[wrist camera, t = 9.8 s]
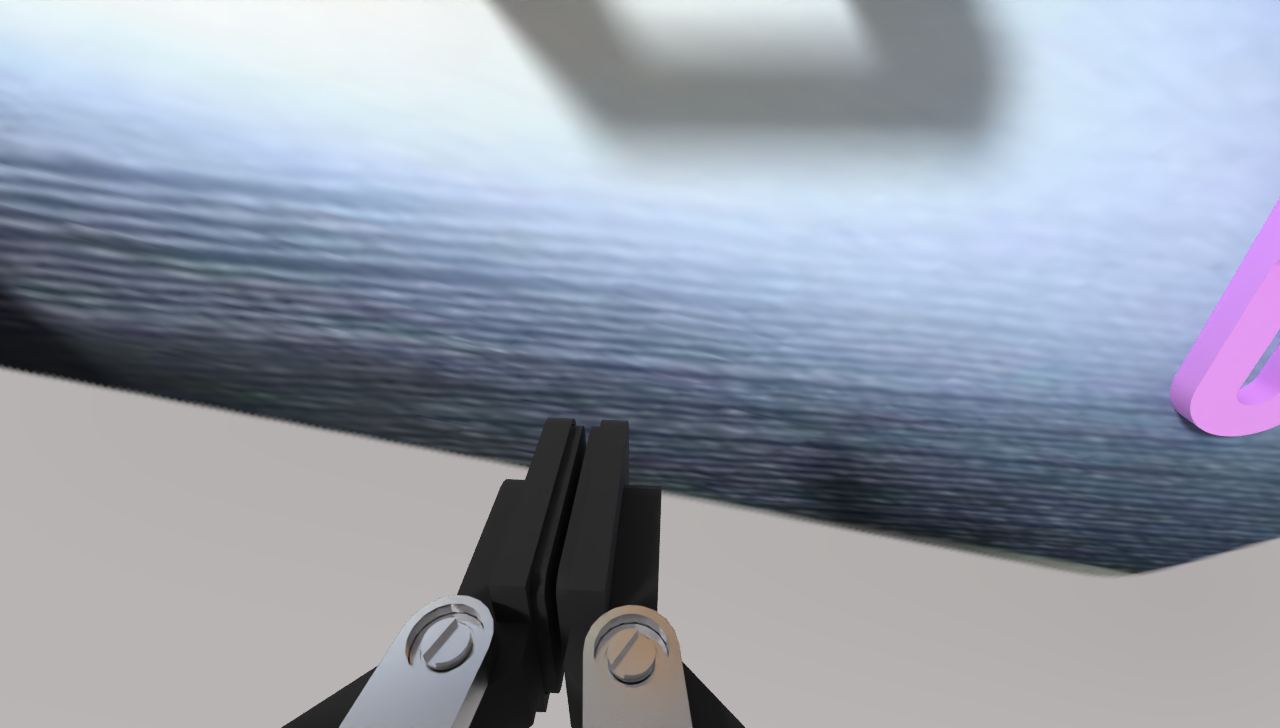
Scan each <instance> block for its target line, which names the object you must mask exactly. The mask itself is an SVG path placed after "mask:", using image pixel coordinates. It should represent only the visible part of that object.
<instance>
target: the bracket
mask: <svg viewBox="0 0 1280 728" xmlns="http://www.w3.org/2000/svg"><path fill="white" fill-rule="evenodd" d="M1279 329H1280V198H1279V200H1278V201H1277V203H1276V205H1275V207H1274V208H1273V210H1272V212H1271V213H1270V215H1269V217H1268V219H1267V220H1266V222H1265V224H1264V225H1263V227H1262V229H1261V230H1260V232H1259V234H1258V236H1257V237H1256V239H1255V241H1254V242H1253V244H1252V246H1251V248H1250V249H1249V251H1248V253H1247V254H1246V256H1245V258H1244V260H1243V261H1242V263H1241V265H1240V266H1239V268H1238V270H1237V271H1236V273H1235V275H1234V277H1233V278H1232V280H1231V282H1230V283H1229V285H1228V287H1227V289H1226V290H1225V292H1224V294H1223V295H1222V297H1221V299H1220V300H1219V302H1218V304H1217V306H1216V307H1215V309H1214V311H1213V312H1212V314H1211V316H1210V318H1209V319H1208V321H1207V323H1206V324H1205V326H1204V328H1203V329H1202V331H1201V333H1200V335H1199V336H1198V338H1197V340H1196V341H1195V343H1194V345H1193V347H1192V348H1191V350H1190V352H1189V353H1188V355H1187V357H1186V358H1185V360H1184V362H1183V364H1182V365H1181V367H1180V369H1179V370H1178V372H1177V374H1176V376H1175V378H1174V380H1173V382H1172V385H1171V389H1170V399H1171V403H1172V405H1173V407H1174V408H1175V410H1176V411H1177V412H1178V413H1180V414H1181V415H1182V416H1184V417H1185V418H1186V419H1188V420H1189V421H1191V422H1192V423H1193V424H1195V425H1196V426H1197V427H1199V428H1200V429H1202V430H1203V431H1205V432H1208V433H1211V434H1214V435H1219V436H1242V435H1248V434H1253V433H1257V432H1261V431H1264V430H1267V429H1270V428H1272V427H1275V426H1277V425H1280V344H1279V345H1278V347H1277V348H1276V350H1275V351H1274V353H1273V354H1272V356H1271V357H1270V358H1269V360H1268V361H1267V363H1266V364H1265V366H1264V367H1263V369H1262V370H1261V372H1260V373H1259V375H1258V376H1257V377H1256V379H1255V380H1254V381H1252V382H1251V383H1250V384H1248V385H1247V386H1245V387H1243V388H1240V387H1241V386H1242V384H1243V383H1244V381H1245V380H1246V378H1247V377H1248V375H1249V374H1250V372H1251V371H1252V369H1253V368H1254V366H1255V365H1256V363H1257V362H1258V360H1259V359H1260V357H1261V356H1262V354H1263V353H1264V351H1265V350H1266V348H1267V347H1268V345H1269V344H1270V342H1271V341H1272V339H1273V338H1274V336H1275V335H1276V333H1277V332H1278V330H1279Z"/></svg>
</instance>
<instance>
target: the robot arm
mask: <svg viewBox="0 0 1280 728" xmlns="http://www.w3.org/2000/svg"><path fill="white" fill-rule="evenodd" d="M661 487H662V486H642V485H629V424H628V421H619V420H602V421H601V425H600V427H595V426H592V427H591V429H590V434H589V438H588V443H587V447H586V439H585V428H584V426H576V422H575V419H569V418H547V420H546V422H545V425H544V428H543V431H542V434H541V436H540V439H539V442H538V445H537V448H536V451H535V453H534V456H533V459H532V462H531V465H530V467H529V470H528V473H527V476H526V479H525V480H511V479H506V480H505V481H504V482H503V484H502V486H501V487H500V490H499V492H498V495H497V497H496V500H495V502H494V505H493V507H492V510H491V512H490V515H489V517H488V520H487V522H486V525H485V527H484V529H483V532H482V534H481V537H480V540H479V542H478V544H477V547H476V549H475V552H474V554H473V557H472V559H471V562H470V564H469V567H468V569H467V572H466V574H465V576H464V579H463V582H462V584H461V586H460V589H459V591H458V594H457V595H453V596H448V597H444V598H440V599H437V600H435V601H433V602H431V603H429V604H427V605H425V606H424V607H423V608H421V609H420V610H419V611H417V612H416V613H415V614H414V615H412V617H411V618H410V619H409V620H408V622H407V623H406V624H405V625H404V626H403V628H402V629H401V631H400V632H399V634H398V635H397V637H396V639H395V640H394V642H393V643H392V645H391V646H390V648H389V650H388V651H387V653H386V654H385V656H384V657H383V659H382V661H381V662H380V664H379V665H378V666H377V667H375V668H374V669H372V670H371V671H369V672H367V673H366V674H364V675H363V676H361V677H359V678H358V679H356V680H355V681H353V682H352V683H350V684H349V685H347V686H345V687H344V688H342V689H341V690H339V691H338V692H336V693H335V694H333V695H332V696H330V697H328V698H327V699H325V700H324V701H322V702H321V703H319V704H318V705H316V706H314V707H313V708H311V709H310V710H308V711H307V712H305V713H303V714H302V715H300V716H299V717H297V718H296V719H294V720H293V721H291V722H290V723H288V724H286V725H285V726H283V727H282V728H529V727H530V726H532V725H533V723H534V718H535V714H536V712H546V709H547V704H548V699H549V694H550V693H559V692H560V690H561V686H562V681H563V676H564V672H565V680H566V688H567V696H568V704H569V713H570V721H571V727H572V728H745V727H744V726H743V725H742V724H741V723H740V722H739V720H738V719H736V717H735V716H734V715H733V714H732V713H731V712H730V711H729V710H728V709H727V708H726V707H725V706H724V705H723V704H722V703H721V702H720V701H719V700H718V699H717V697H716V696H715V695H714V694H713V693H712V692H711V691H710V690H709V689H708V688H707V687H706V686H705V685H704V684H703V683H702V682H701V681H700V680H699V679H698V678H697V677H696V676H695V674H694V673H692V671H691V670H690V669H689V668H688V667H687V666H686V665H685V664H684V663H683V662H682V658H681V652H680V646H679V642H678V639H677V636H676V633H675V630H674V629H673V627H672V626H671V625H670V624H669V622H668V621H667V619H666V618H664V617H663V616H662V615H660V614H659V613H658V612H657V601H658V573H659V544H660V515H661Z"/></svg>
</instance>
